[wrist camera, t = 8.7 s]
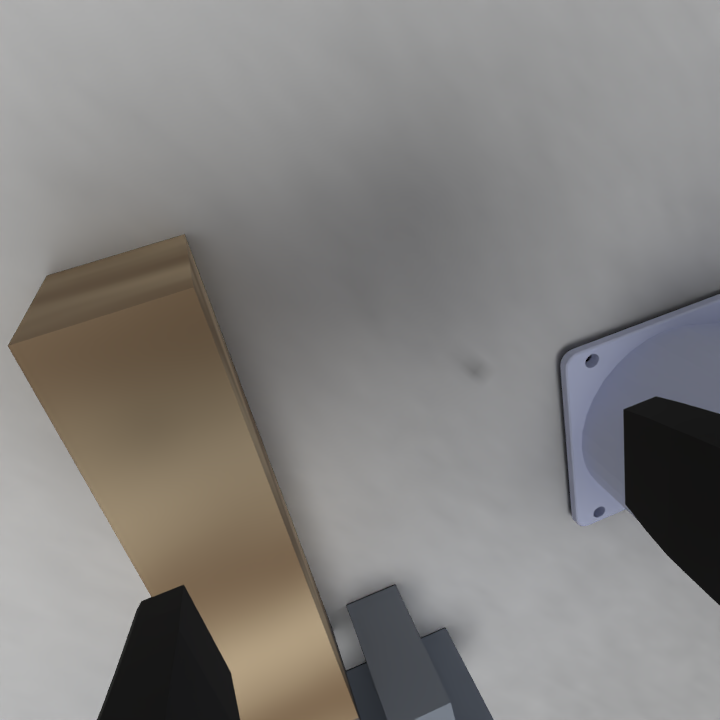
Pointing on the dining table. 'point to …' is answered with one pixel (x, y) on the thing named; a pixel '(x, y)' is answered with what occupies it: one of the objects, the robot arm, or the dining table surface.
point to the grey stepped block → (408, 667)
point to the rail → (183, 468)
